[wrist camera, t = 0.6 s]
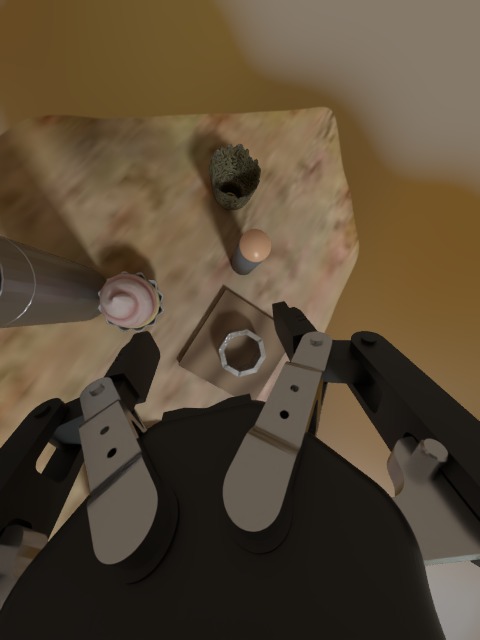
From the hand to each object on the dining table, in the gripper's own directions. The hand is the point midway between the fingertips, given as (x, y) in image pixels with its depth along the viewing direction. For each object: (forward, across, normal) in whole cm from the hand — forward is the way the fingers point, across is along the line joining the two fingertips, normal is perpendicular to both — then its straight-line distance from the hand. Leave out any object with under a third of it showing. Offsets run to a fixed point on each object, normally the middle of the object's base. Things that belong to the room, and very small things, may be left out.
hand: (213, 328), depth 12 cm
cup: (+31, -5, -6) cm, 32 cm away
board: (+18, 0, +17) cm, 25 cm away
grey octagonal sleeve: (+17, -1, +17) cm, 24 cm away
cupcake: (+22, +14, +6) cm, 27 cm away
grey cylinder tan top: (+26, -5, +4) cm, 26 cm away
